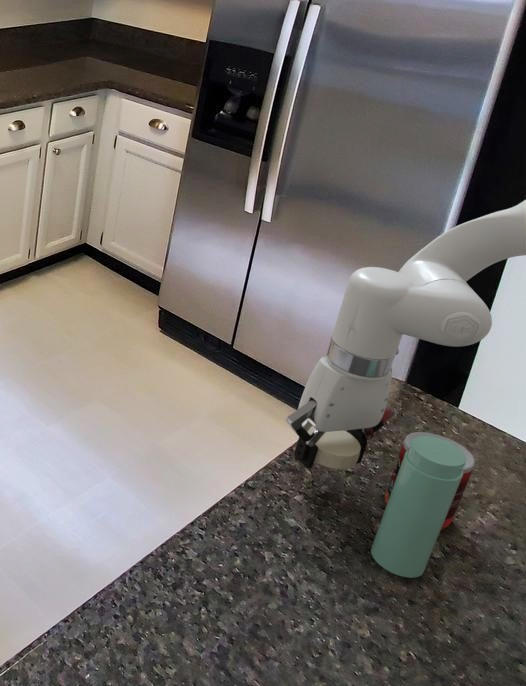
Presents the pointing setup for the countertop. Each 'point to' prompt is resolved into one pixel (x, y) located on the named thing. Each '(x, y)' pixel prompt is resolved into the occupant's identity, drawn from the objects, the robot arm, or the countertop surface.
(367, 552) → the countertop surface
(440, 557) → the countertop surface
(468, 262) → the robot arm
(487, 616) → the countertop surface
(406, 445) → the canned food
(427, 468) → the thermos
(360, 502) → the countertop surface
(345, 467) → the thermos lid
